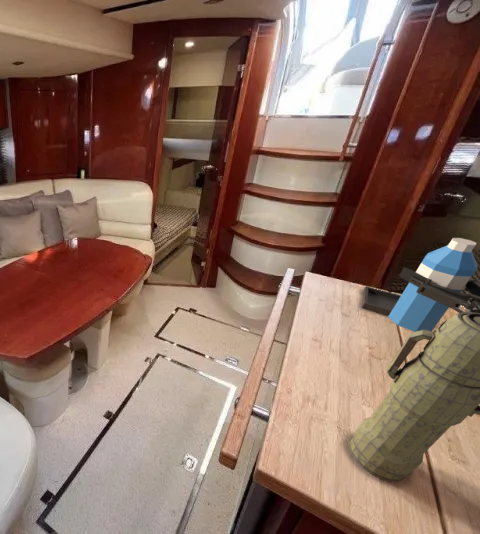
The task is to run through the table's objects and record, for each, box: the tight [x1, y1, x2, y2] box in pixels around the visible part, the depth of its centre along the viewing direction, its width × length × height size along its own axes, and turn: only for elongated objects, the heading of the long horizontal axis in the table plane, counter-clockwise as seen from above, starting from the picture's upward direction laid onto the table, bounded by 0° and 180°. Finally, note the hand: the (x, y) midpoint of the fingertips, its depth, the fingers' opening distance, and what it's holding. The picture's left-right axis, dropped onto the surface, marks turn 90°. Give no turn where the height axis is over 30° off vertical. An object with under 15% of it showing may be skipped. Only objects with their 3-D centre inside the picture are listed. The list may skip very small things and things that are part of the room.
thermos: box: [347, 312, 480, 483], centre depth 52 cm, size 9×12×35 cm
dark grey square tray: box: [361, 285, 402, 317], centre depth 101 cm, size 13×13×2 cm
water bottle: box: [387, 237, 479, 332], centre depth 79 cm, size 9×9×25 cm
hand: (420, 271), depth 82 cm, fingers closed on water bottle, 9 cm apart
